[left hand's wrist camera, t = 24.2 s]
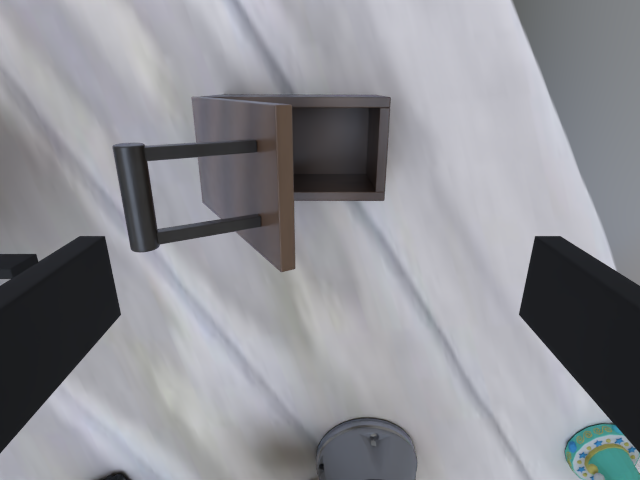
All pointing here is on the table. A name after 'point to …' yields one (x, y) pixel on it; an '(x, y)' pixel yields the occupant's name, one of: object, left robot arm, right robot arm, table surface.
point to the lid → (222, 178)
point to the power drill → (116, 477)
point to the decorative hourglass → (602, 454)
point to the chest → (336, 144)
